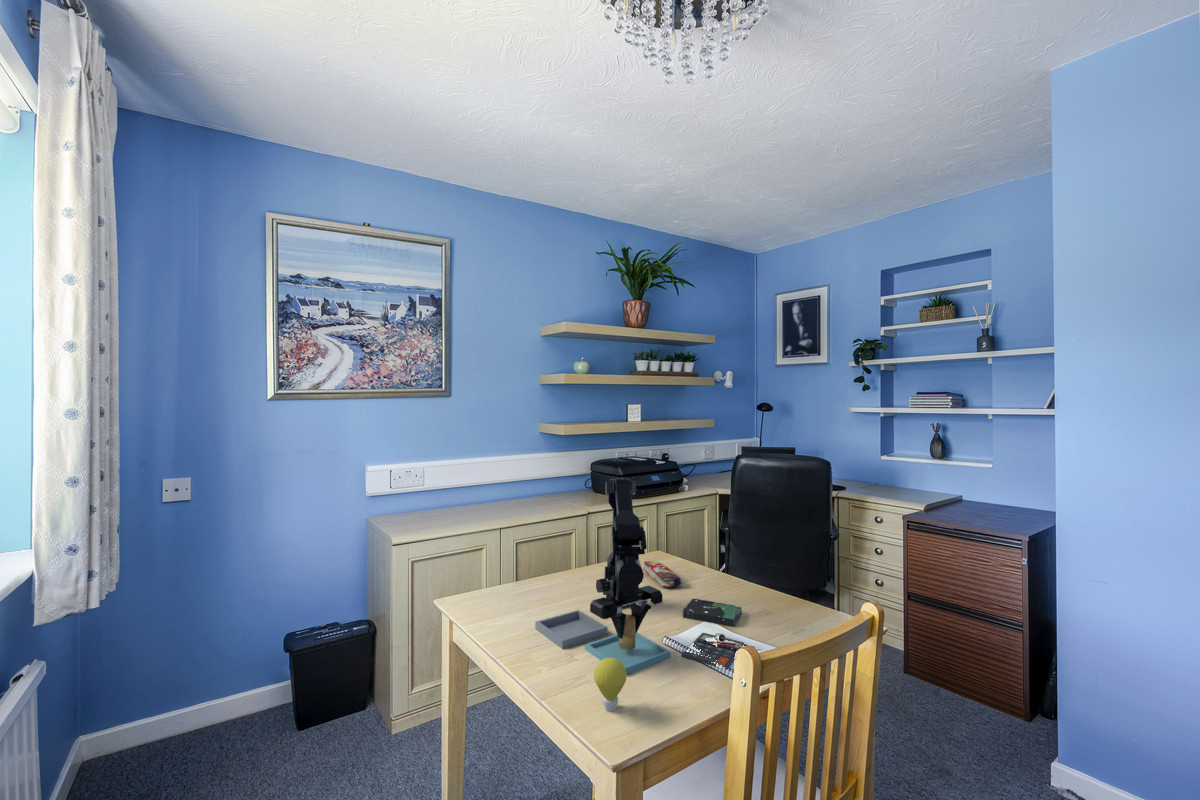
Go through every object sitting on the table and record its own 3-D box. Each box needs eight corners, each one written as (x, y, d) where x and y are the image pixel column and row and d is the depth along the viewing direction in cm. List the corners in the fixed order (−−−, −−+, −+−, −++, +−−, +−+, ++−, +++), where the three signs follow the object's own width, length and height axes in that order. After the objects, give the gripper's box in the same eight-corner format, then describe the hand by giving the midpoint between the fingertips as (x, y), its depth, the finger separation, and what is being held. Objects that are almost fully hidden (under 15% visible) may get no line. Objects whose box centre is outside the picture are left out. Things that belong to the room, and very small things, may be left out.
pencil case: (671, 571, 197) (671, 557, 197) (683, 590, 177) (683, 575, 177) (641, 571, 196) (641, 557, 196) (649, 591, 176) (649, 576, 176)
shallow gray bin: (578, 617, 155) (578, 609, 155) (607, 635, 144) (607, 627, 144) (535, 630, 147) (535, 621, 147) (562, 650, 136) (562, 640, 136)
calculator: (680, 654, 132) (702, 631, 145) (680, 658, 132) (702, 635, 145) (727, 667, 126) (745, 642, 139) (727, 671, 126) (745, 645, 139)
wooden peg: (628, 640, 137) (628, 613, 136) (638, 646, 133) (638, 618, 133) (615, 645, 134) (615, 616, 134) (625, 651, 131) (625, 622, 131)
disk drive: (682, 620, 155) (734, 629, 149) (682, 610, 155) (734, 619, 149) (692, 607, 165) (741, 615, 158) (692, 597, 165) (741, 605, 158)
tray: (631, 635, 144) (631, 629, 144) (670, 657, 132) (670, 651, 132) (585, 650, 136) (585, 644, 136) (621, 676, 123) (621, 669, 123)
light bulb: (592, 699, 114) (592, 652, 114) (624, 698, 115) (624, 650, 114) (595, 718, 107) (595, 668, 107) (628, 716, 108) (628, 667, 108)
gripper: (635, 558, 146) (635, 615, 146) (577, 571, 135) (577, 633, 135) (664, 569, 136) (663, 630, 137) (603, 584, 126) (603, 651, 126)
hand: (627, 635), depth 134 cm, fingers closed on wooden peg, 4 cm apart
